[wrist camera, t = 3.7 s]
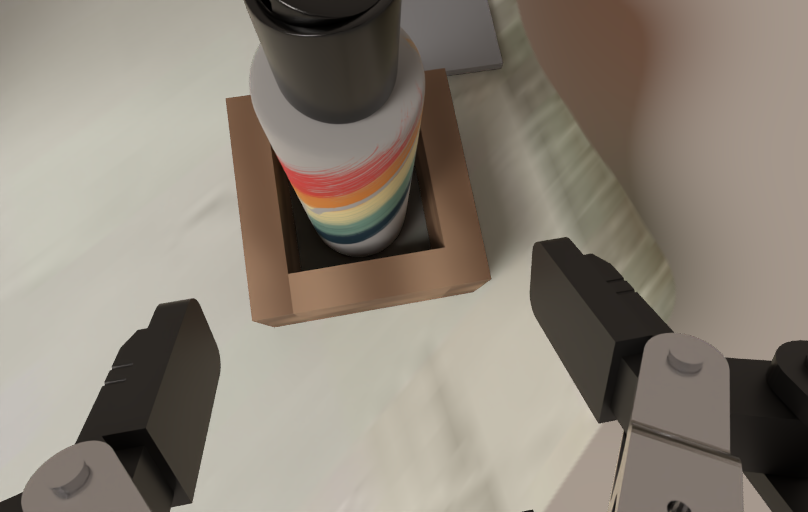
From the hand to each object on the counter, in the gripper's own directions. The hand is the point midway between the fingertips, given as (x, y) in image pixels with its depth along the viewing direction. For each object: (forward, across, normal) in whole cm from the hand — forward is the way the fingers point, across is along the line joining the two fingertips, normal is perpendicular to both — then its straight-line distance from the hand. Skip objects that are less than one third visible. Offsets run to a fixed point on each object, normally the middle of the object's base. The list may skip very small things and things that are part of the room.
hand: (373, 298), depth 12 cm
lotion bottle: (+18, 0, +7) cm, 19 cm away
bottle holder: (+18, 0, +7) cm, 19 cm away
